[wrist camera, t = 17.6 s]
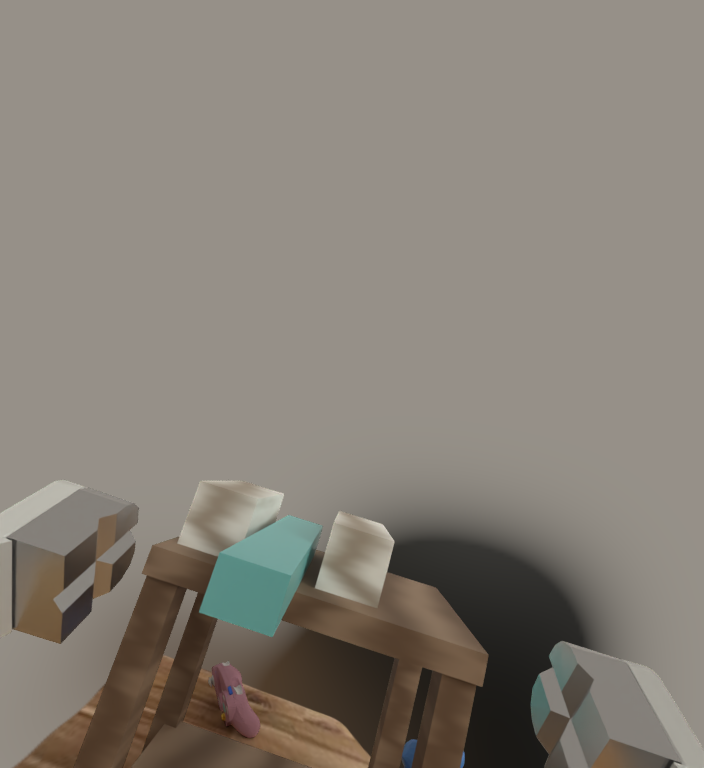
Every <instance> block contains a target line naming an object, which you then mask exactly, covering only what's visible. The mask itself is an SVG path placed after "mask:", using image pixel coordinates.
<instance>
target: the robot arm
mask: <svg viewBox="0 0 704 768" xmlns="http://www.w3.org/2000/svg"><path fill="white" fill-rule="evenodd" d="M138 510H139V508H138V507H137V506H136V505H135V504H134V503H131V502H128V501H126V500H123V499H120V498H117V497H114V496H111V495H108V494H106V493H103V492H100V491H97V490H94V489H91V488H86V487H84V486H81V485H78V484H75V483H73V482H70V481H67V480H60V481H55V482H53V483H51V484H49V485H48V486H46V487H44V488H43V489H41V490H39V491H38V492H36V493H34V494H32V495H31V496H29V497H27V498H25V499H24V500H22V501H20V502H19V503H17V504H15V505H13V506H12V507H10V508H8V509H7V510H5V511H3V512H2V513H0V638H1V637H3V636H5V635H7V634H9V633H11V632H12V629H14V630H18V631H21V632H24V633H27V634H30V635H33V636H37V637H40V638H43V639H46V640H49V641H53V642H56V643H59V644H61V643H62V642H63V641H64V640H65V639H66V638H67V636H69V635H70V634H71V632H72V631H73V630H74V629H75V628H76V627H77V626H78V625H79V624H80V623H81V622H82V621H83V620H84V619H85V618H86V617H87V616H88V615H89V614H90V612H91V610H92V600H93V599H94V598H96V597H98V596H101V595H104V594H106V593H108V592H110V591H111V590H112V589H113V588H114V587H115V586H116V585H117V583H118V582H119V581H120V580H121V579H122V577H123V575H124V574H125V572H126V570H127V569H128V567H129V565H130V563H131V560H132V557H133V554H134V551H135V542H136V541H135V539H134V537H133V535H132V534H131V532H130V529H131V528H132V527H133V526H135V525H136V524H137V523H138ZM549 657H550V660H551V663H552V667H553V668H551V669H549V670H547V671H544V672H542V673H540V674H539V676H538V678H537V680H536V682H535V684H534V686H533V690H532V699H531V714H532V721H533V725H534V730H535V734H536V737H537V738H538V739H539V741H540V742H541V744H542V745H543V746H544V747H545V749H546V750H547V752H548V753H549V757H548V759H547V762H546V764H545V768H704V749H703V747H702V746H701V744H700V742H699V741H698V739H697V737H696V736H695V734H694V733H693V731H692V729H691V728H690V726H689V724H688V723H687V721H686V720H685V718H684V716H683V715H682V713H681V711H680V710H679V708H678V707H677V705H676V703H675V702H674V700H673V698H672V697H671V695H670V693H669V692H668V690H667V689H666V687H665V685H664V684H663V682H662V680H661V679H660V677H659V676H658V675H657V674H656V673H655V672H654V671H653V670H652V669H651V668H649V667H646V666H643V665H640V664H636V663H633V662H630V661H626V660H623V659H617V658H614V657H611V656H608V655H605V654H602V653H599V652H596V651H592V650H589V649H586V648H583V647H579V646H576V645H573V644H570V643H567V642H563V641H561V642H559V643H558V644H556V645H555V646H554V648H553V650H552V652H551V653H550V655H549Z"/></svg>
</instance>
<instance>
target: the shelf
mask: <svg viewBox="0 0 704 768" xmlns="http://www.w3.org/2000/svg"><path fill="white" fill-rule="evenodd" d="M283 497H284V494H283V493H280V492H277V491H273V490H270V489H267V488H264V487H260V486H257V485H254V484H251V483H248V482H245V481H200V483H199V486H198V489H197V491H196V494H195V497H194V499H193V502H192V505H191V508H190V510H189V513H188V516H187V518H186V521H185V524H184V526H183V529H182V532H181V534H180V537H176V538H173V539H170V540H167V541H164V542H161V543H158V544H155V545H152V548H151V551H150V553H149V556H148V559H147V561H146V564H145V566H144V569H143V571H142V574H144V575H147V577H146V579H145V582H144V585H143V587H142V590H141V592H140V595H139V598H138V600H137V603H136V606H135V608H134V611H133V613H132V616H131V619H130V621H129V624H128V627H127V629H126V632H125V635H124V637H123V640H122V642H121V645H120V648H119V650H118V653H117V655H116V658H115V661H114V663H113V666H112V669H111V671H110V674H109V676H108V679H107V682H106V684H105V687H104V689H103V692H102V695H101V697H100V700H99V703H98V705H97V708H96V710H95V713H94V716H93V718H92V721H91V723H90V726H89V729H88V731H87V734H86V737H85V739H84V742H83V744H82V747H81V750H80V752H79V755H78V758H77V760H76V763H75V765H74V768H123V765H124V763H125V760H126V757H127V754H128V751H129V749H130V746H131V743H132V740H133V737H134V735H135V732H136V729H137V726H138V724H139V721H140V718H141V715H142V712H143V710H144V707H145V704H146V701H147V698H148V696H149V693H150V690H151V687H152V684H153V682H154V679H155V676H156V673H157V670H158V668H159V665H160V662H161V659H162V657H163V654H164V651H165V648H166V645H167V642H168V640H169V637H170V634H171V631H172V629H173V626H174V623H175V620H176V617H177V615H178V612H179V609H180V606H181V603H182V601H183V598H184V595H185V592H186V590H187V589H190V590H193V591H196V592H198V594H197V597H196V600H195V603H194V606H193V608H192V611H191V614H190V617H189V620H188V622H187V625H186V628H185V631H184V634H183V637H182V640H181V642H180V646H179V648H178V651H177V654H176V657H175V659H174V662H173V665H172V668H171V671H170V674H169V677H168V679H167V682H166V685H165V688H164V691H163V694H162V696H161V699H160V702H159V705H158V708H157V711H156V714H155V716H154V719H153V722H152V725H151V728H150V731H149V733H148V736H147V739H146V742H145V745H144V748H143V750H142V753H141V755H140V756H139V758H138V759H137V760H136V761H135V763H134V764H133V765H132V767H131V768H311V767H308V766H306V765H303V764H300V763H297V762H294V761H292V760H289V759H286V758H283V757H280V756H277V755H275V754H272V753H269V752H266V751H263V750H261V749H258V748H255V747H252V746H249V745H247V744H244V743H241V742H238V741H235V740H233V739H230V738H227V737H224V736H221V735H219V734H216V733H213V732H210V731H207V730H205V729H202V728H199V727H196V726H193V725H191V724H188V723H185V722H183V720H184V717H185V714H186V711H187V708H188V705H189V702H190V699H191V696H192V694H193V691H194V688H195V685H196V682H197V679H198V676H199V673H200V670H201V666H202V664H203V661H204V658H205V655H206V652H207V649H208V646H209V643H210V640H211V637H212V634H213V631H214V628H215V625H216V622H217V618H214V617H211V616H208V615H205V614H202V613H199V610H200V607H201V605H202V602H203V599H204V596H205V593H206V590H207V587H208V584H209V582H210V579H211V576H212V573H213V570H214V567H215V564H216V561H217V559H218V556H219V553H220V552H221V551H223V550H225V549H227V548H229V547H231V546H232V545H234V544H236V543H238V542H240V541H242V540H243V539H245V538H247V537H249V536H251V535H253V534H255V533H256V532H258V531H260V530H262V529H264V528H266V527H268V526H269V525H271V524H273V523H275V522H276V519H277V515H278V512H279V509H280V506H281V503H282V500H283ZM393 545H394V540H393V539H392V537H391V536H390V534H389V533H388V531H387V530H386V528H385V527H384V526H383V525H382V524H380V523H377V522H373V521H370V520H367V519H364V518H361V517H357V516H354V515H351V514H348V513H344V512H341V511H339V513H338V515H337V517H336V519H335V521H334V524H333V528H332V531H331V534H330V538H329V542H328V545H327V548H326V552H322V551H318V550H316V552H315V555H314V557H313V559H312V561H311V563H310V565H309V567H308V568H307V570H306V572H305V574H304V576H303V578H302V580H301V582H300V584H299V586H298V588H297V590H296V592H295V594H294V596H293V598H292V600H291V602H290V604H289V606H288V608H287V610H286V612H285V614H284V615H283V617H282V619H281V620H283V621H286V622H289V623H292V624H295V625H298V626H301V627H304V628H307V629H310V630H313V631H316V632H319V633H322V634H325V635H328V636H331V637H334V638H337V639H340V640H343V641H346V642H349V643H352V644H355V645H358V646H361V647H364V648H367V649H370V650H373V651H376V652H379V653H382V654H385V655H388V656H391V657H394V658H395V659H394V663H393V668H392V672H391V676H390V680H389V684H388V688H387V692H386V697H385V701H384V705H383V709H382V713H381V717H380V722H379V726H378V730H377V734H376V738H375V742H374V746H373V751H372V755H371V759H370V763H369V767H368V768H399V767H400V762H401V758H402V753H403V749H404V744H405V740H406V735H407V730H408V727H409V722H410V718H411V714H412V709H413V704H414V700H415V696H416V691H417V687H418V682H419V678H420V674H421V669H422V667H424V668H427V669H430V670H433V672H432V677H431V681H430V686H429V690H428V694H427V699H426V704H425V708H424V713H423V717H422V722H421V727H420V731H419V735H418V740H417V744H416V749H415V753H414V758H413V762H412V767H411V768H460V765H461V760H462V755H463V750H464V745H465V740H466V735H467V730H468V725H469V720H470V715H471V709H472V704H473V699H474V694H475V689H476V685H478V686H483V681H484V675H485V671H486V666H487V660H488V654H487V653H486V651H485V650H484V649H483V647H482V646H481V645H480V643H479V642H478V641H477V640H476V638H475V637H474V636H473V635H472V633H471V632H470V631H469V629H468V628H467V627H466V625H465V624H464V623H463V622H462V620H461V619H460V618H459V616H458V615H457V614H456V613H455V611H454V610H453V609H452V608H451V606H450V605H449V604H448V602H447V601H446V600H445V599H444V597H443V596H442V595H441V593H440V592H439V591H438V590H437V588H435V587H431V586H428V585H425V584H422V583H419V582H416V581H413V580H410V579H406V578H403V577H400V576H397V575H394V574H391V573H387V569H388V565H389V561H390V557H391V553H392V549H393Z"/></svg>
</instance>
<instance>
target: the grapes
mask: <svg viewBox="0 0 704 768" xmlns="http://www.w3.org/2000/svg"><path fill="white" fill-rule="evenodd" d="M416 744H417V740H413V739H412V740H410V741H408V742H407V743H406V744H405V746H404V749H403V753H402V762H403V764H404V766H405V768H411V767H412V762H413V758H414V753H415V749H416ZM464 759H465V756H464V751H463V755H462V760H461V765H460V768H462V767H463V765H464Z"/></svg>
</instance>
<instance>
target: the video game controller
mask: <svg viewBox="0 0 704 768" xmlns="http://www.w3.org/2000/svg"><path fill="white" fill-rule="evenodd" d="M208 682H209V685H210V686H211V687H212V684H213V686H214V687H215V690H216V694H217V700H218V704H219V708H220V710H221V711H223V714H222V715H221V718H222V721H225V724H226V726H229V725H231V724H232V725H233V727H234V728H235V729H236V730H237V731H238V732H239V733H240V734H242V735H243V736H245V737H248V738H252V737H255V736H256V735H257V734H258V732H259V729H260V721H259V718H258V717H257V715H256V714H255V713H254V711H253V710H252V709H251V707H250V705H249V703H248V701H247V697H246V694H245V690H244V688H243V685H242V677H241V674H240V672H239V671H238V670H237V669H236V668H234V667H233V666H232V665H231V664H229V661H228V662H227V663H220V664H217V665H215V666H213V667H212V678H210V677H209V680H208Z"/></svg>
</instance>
